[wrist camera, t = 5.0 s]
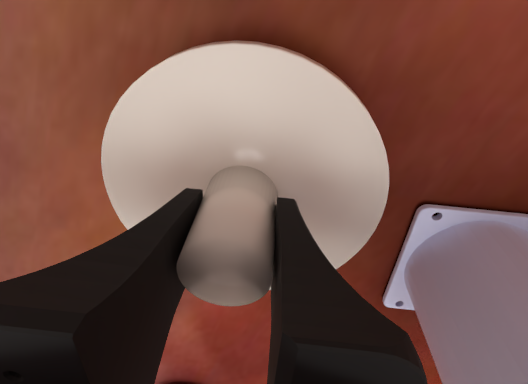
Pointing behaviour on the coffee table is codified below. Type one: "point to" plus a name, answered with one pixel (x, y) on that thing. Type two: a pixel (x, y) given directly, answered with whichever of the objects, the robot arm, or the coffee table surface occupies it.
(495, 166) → the coffee table surface
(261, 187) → the lid
